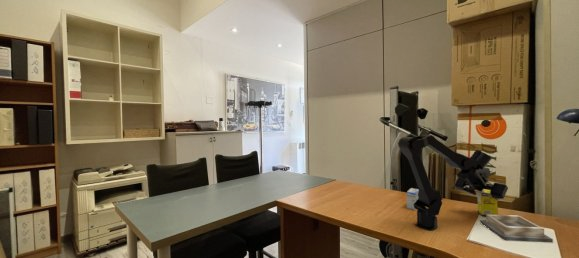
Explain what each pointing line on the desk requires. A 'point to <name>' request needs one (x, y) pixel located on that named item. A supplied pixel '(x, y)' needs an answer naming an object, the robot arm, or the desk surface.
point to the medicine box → (412, 198)
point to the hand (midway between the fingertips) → (486, 197)
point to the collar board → (515, 228)
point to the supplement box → (486, 203)
